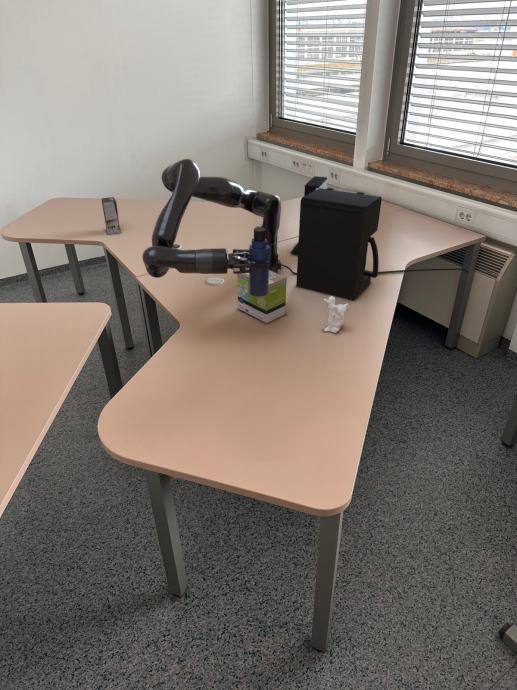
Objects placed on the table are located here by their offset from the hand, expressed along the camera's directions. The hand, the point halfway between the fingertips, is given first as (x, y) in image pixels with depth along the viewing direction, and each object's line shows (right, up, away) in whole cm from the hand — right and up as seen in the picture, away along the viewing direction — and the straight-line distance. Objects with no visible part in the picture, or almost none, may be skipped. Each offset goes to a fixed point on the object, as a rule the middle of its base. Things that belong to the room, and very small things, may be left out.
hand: (267, 260), depth 146 cm
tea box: (-2, -14, +27) cm, 30 cm away
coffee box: (-77, +33, +102) cm, 132 cm away
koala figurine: (+23, -21, +16) cm, 35 cm away
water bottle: (-3, -9, +5) cm, 11 cm away
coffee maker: (+29, -2, +46) cm, 55 cm away
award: (+25, +21, +85) cm, 91 cm away
